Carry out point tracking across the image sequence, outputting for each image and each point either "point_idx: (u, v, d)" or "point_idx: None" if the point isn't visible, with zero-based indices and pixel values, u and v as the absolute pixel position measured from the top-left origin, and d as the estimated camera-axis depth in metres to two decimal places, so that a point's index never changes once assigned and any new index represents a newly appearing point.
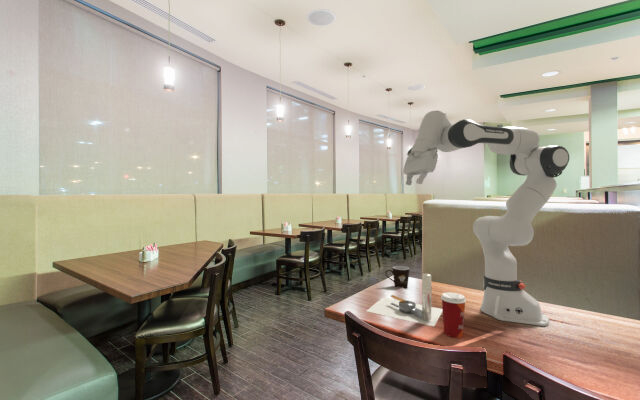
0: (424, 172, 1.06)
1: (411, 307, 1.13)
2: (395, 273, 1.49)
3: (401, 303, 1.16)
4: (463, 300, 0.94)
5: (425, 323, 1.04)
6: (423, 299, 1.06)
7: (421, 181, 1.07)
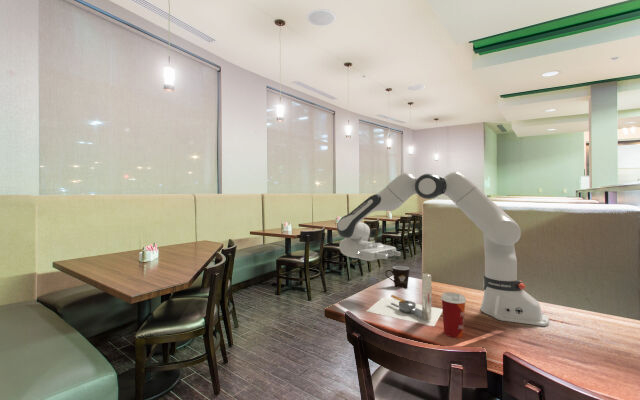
0: (376, 256, 1.23)
1: (411, 307, 1.13)
2: (395, 273, 1.49)
3: (401, 303, 1.16)
4: (463, 300, 0.94)
5: (425, 323, 1.04)
6: (423, 299, 1.06)
7: (384, 256, 1.22)
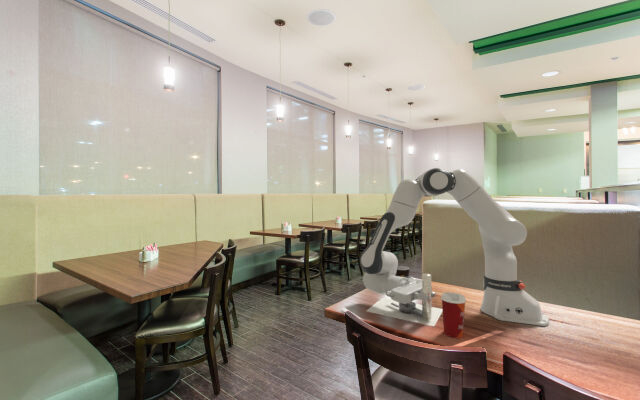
0: (415, 296, 1.06)
1: (411, 307, 1.13)
2: None
3: (401, 303, 1.16)
4: (463, 300, 0.94)
5: (425, 323, 1.04)
6: None
7: (425, 296, 1.04)
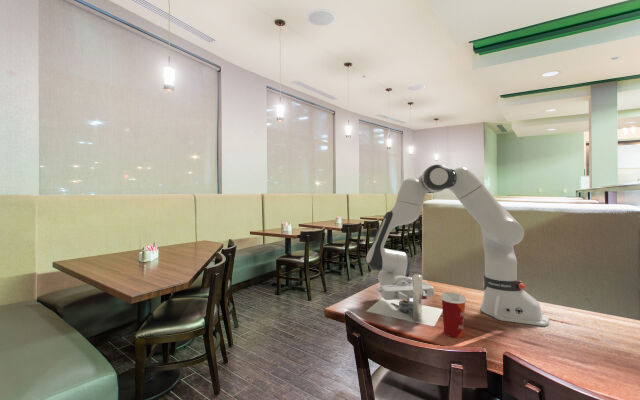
0: (398, 295, 1.07)
1: (408, 307, 1.13)
2: None
3: (401, 302, 1.17)
4: (463, 300, 0.94)
5: (425, 323, 1.04)
6: (413, 299, 1.06)
7: (404, 297, 1.04)
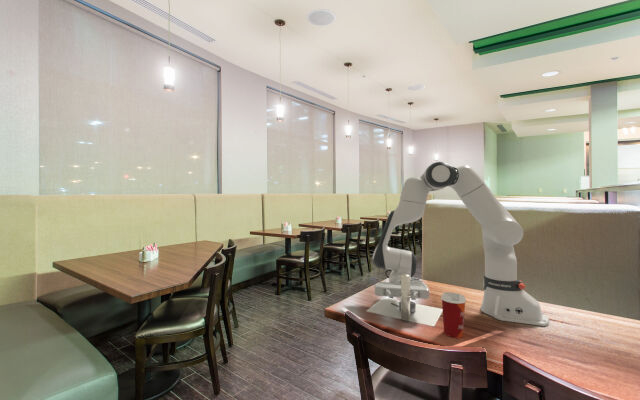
0: (386, 292, 1.10)
1: None
2: None
3: None
4: (463, 300, 0.94)
5: (425, 323, 1.04)
6: None
7: (389, 294, 1.07)
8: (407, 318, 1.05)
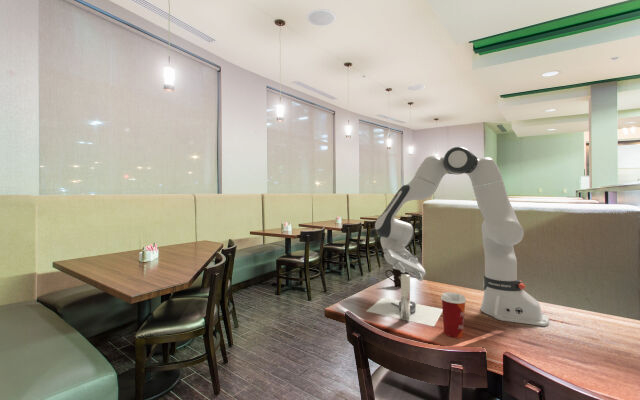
0: (396, 263, 1.19)
1: None
2: (395, 273, 1.49)
3: None
4: (463, 300, 0.94)
5: (425, 323, 1.04)
6: None
7: (402, 268, 1.17)
8: (407, 318, 1.05)
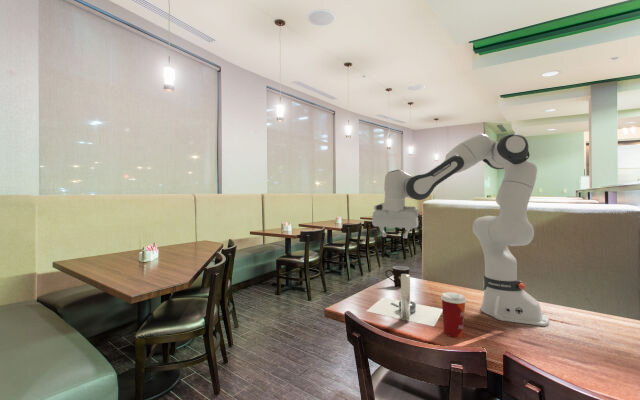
0: (409, 228, 1.25)
1: None
2: (395, 273, 1.49)
3: None
4: (463, 300, 0.94)
5: (425, 323, 1.04)
6: None
7: None
8: (407, 318, 1.05)
